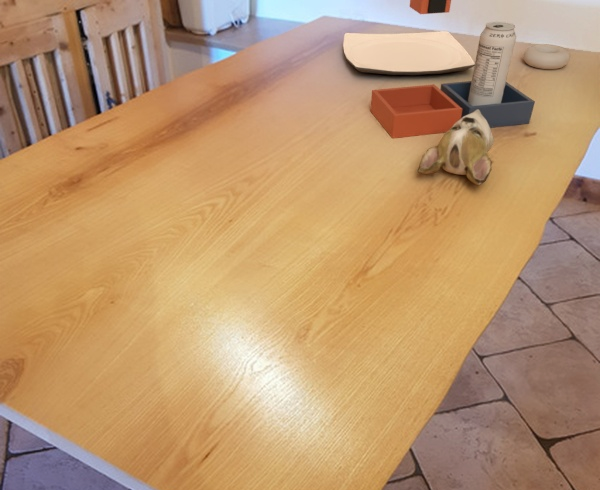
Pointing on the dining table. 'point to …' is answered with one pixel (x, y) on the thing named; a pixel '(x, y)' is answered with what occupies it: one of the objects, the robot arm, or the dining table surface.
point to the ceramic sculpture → (462, 150)
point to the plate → (406, 53)
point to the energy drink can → (492, 63)
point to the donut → (546, 56)
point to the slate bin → (506, 113)
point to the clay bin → (414, 110)
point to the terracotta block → (426, 6)
